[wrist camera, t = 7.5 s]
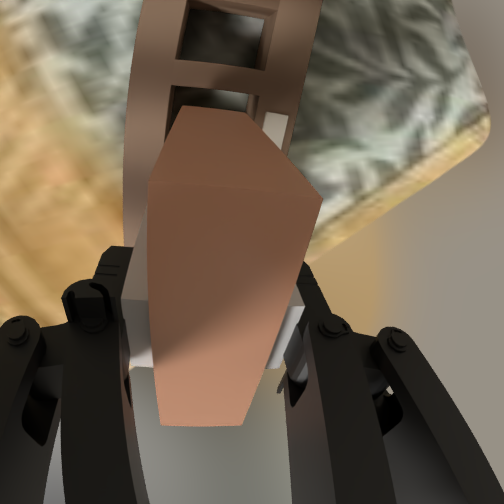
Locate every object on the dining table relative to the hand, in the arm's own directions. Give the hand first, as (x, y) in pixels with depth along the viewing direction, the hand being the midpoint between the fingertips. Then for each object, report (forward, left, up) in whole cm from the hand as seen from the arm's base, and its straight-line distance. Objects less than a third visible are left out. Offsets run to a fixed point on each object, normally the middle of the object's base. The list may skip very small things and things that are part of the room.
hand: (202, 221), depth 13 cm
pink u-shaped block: (0, 0, -3) cm, 3 cm away
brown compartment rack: (-6, 0, -8) cm, 10 cm away
